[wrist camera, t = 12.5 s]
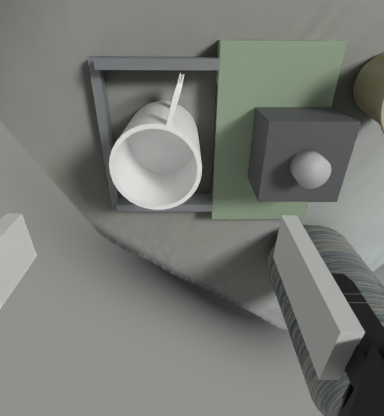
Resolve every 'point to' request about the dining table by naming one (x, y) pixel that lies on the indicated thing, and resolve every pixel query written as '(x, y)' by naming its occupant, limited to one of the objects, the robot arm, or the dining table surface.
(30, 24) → the dining table surface
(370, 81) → the flower pot
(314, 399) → the vase
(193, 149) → the cup
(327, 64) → the square frame with panel
